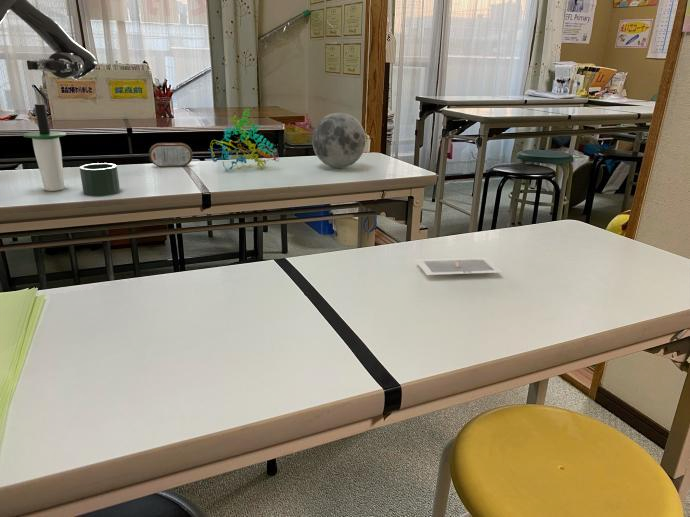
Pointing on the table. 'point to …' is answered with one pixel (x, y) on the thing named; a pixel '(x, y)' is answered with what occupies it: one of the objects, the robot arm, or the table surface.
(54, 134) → the tin lid
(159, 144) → the tin
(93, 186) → the can
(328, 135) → the moon model
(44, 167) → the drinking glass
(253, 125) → the molecular model
